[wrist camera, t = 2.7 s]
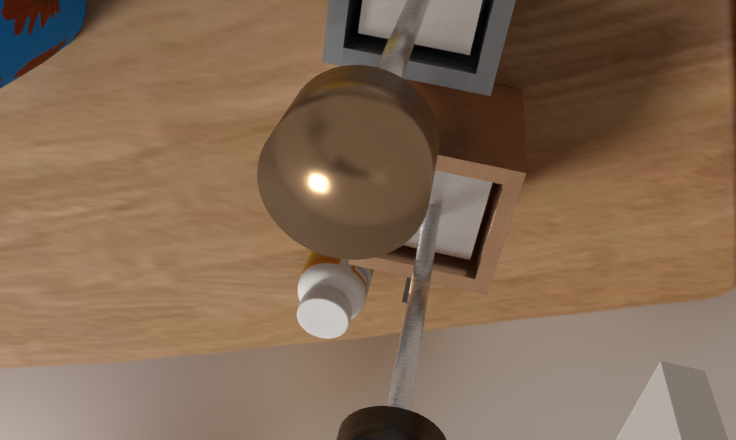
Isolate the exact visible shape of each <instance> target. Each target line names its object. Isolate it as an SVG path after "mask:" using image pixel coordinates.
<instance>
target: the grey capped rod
mask: <svg viewBox="0 0 736 440" xmlns="http://www.w3.org/2000/svg"><path fill="white" fill-rule="evenodd" d="M492 183H493V182H488V181H484V180H479V179H474V178H469V177H465V176H460V175H455V174H450V173H445V172H441V171H436V170H435V174H434V180H433V185H432V191H431V196H430V202H429V207H428V210H427V214H426V217H425V219H424V221H423V223H422V225H421V226H420V228H419V229H418V231H417V232H416V233H415V234H414V236H413V237H412V238H411V239H410V240H409V241H407V242H406V243H405V244H404V246H409V247H413V248H417V252H416V257H415V263H414V268H413V273H412V278H411V284H410V289H409V294H408V299H407V305H406V310H405V315H404V320H403V325H402V331H401V336H400V341H399V346H398V352H397V357H396V362H395V368H394V373H393V378H392V384H391V388H390V394H389V399H388V404H387V406H373V407H368V408H364V409H360V410H358V411H356V412H354V413H352V414H350V415H349V416H348V417H347V418H346V419H345V420H344V421H343V422H342V424H341V426H340V428H339V432H338V436H337V440H446V438H445V436H444V434H443V433H442V431H441V430H440V429H439V428H438V427H437V426H436V425H435V424H434V423H433V422H431V421H430V420H429V419H427V418H425V417H424V416H422V415H420V414H418V413H415V412H413V411H411V405H412V399H413V392H414V386H415V379H416V372H417V366H418V359H419V352H420V346H421V339H422V333H423V326H424V320H425V313H426V307H427V300H428V293H429V287H430V280H431V274H432V267H433V261H434V254H435V252H436V253H441V254H445V255H450V256H455V257H459V258H464V259H468V260H470V258H471V255H472V251H473V248H474V244H475V241H476V238H477V234H478V231H479V227H480V224H481V220H482V217H483V213H484V210H485V207H486V203H487V200H488V196H489V193H490V189H491V186H492Z"/></svg>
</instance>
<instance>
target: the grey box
mask: <svg viewBox="0 0 736 440" xmlns="http://www.w3.org/2000/svg"><path fill="white" fill-rule="evenodd" d="M515 2H516V0H483V1H482V5H481V9H480V13H479V18H478V22H477V26H476V30H475V35H474V39H473V43H472V47H471V51H470V55H467V54H462V53H457V52H452V51H447V50H442V49H437V48H432V47H426V46H421V45H416V44H414V46H413V49H412V52H411V55H410V58H409V61H408V64H407V66H406V69H405V72H404V75H403V78H404V79H409V80H414V81H419V82H424V83H428V84H433V85H438V86H443V87H448V88H453V89H458V90H463V91H468V92H473V93H478V94H483V95H488V96H491V92H492V88H493V85H494V81H495V77H496V73H497V70H498V66H499V62H500V58H501V55H502V51H503V47H504V43H505V39H506V36H507V32H508V28H509V24H510V21H511V17H512V13H513V9H514V6H515ZM361 7H362V0H329V5H328V14H327V24H326V34H325V44H324V53H323V62H324V63H329V64H334V65H339V66H347V65H367V66H374V67H376V66H377V64H378V62H379V59H380V57H381V55H382V53H383V51H384V49H385V46H386V44H387V42H388V40H389V39H386V38H381V37H376V36H371V35H366V34H361V33H358V30H359V22H360V14H361Z"/></svg>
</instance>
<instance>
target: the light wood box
mask: <svg viewBox="0 0 736 440" xmlns="http://www.w3.org/2000/svg"><path fill="white" fill-rule="evenodd" d="M403 79H404V78H403ZM405 80H406V81H407V82H409V83H410V84H411V85H413V86H414V87H415V88H416V89H417V90H418V91H419V92H420V93H421V95H422V96H423V97H424V98H425V100H426V101H427V103H428V104H429V106H430V107H431V109H432V111H433V114H434V116H435V118H436V122H437V125H438V130H439V152H438V158H437V163H436V169H435V170H436V171H441V172H445V173H450V174H455V175H460V176H465V177H469V178H474V179H479V180H484V181H488V182H493V183H492V186H491V189H490V193H489V196H488V200H487V203H486V207H485V210H484V213H483V217H482V220H481V224H480V227H479V231H478V234H477V238H476V241H475V244H474V248H473V251H472V255H471V258H470V260H468V259H464V258H459V257H455V256H450V255H445V254H441V253H436V252H435V254H434V261H433V267H432V274H431V280H430V282H432V283H436V284H441V285H445V286H450V287H454V288H459V289H463V290H468V291H472V292H477V293H481V294H486V295H487V294H488V291H489V288H490V285H491V281H492V278H493V275H494V272H495V269H496V266H497V263H498V260H499V257H500V254H501V251H502V247H503V244H504V241H505V238H506V235H507V232H508V229H509V226H510V223H511V220H512V217H513V213H514V210H515V207H516V204H517V201H518V198H519V195H520V192H521V189H522V186H523V183H524V179H525V176H526V155H525V136H524V117H523V98H522V90H520V89H515V88H510V87H505V86H500V85H495V84H494V85H493V88H492V92H491V96H488V95H483V94H478V93H473V92H468V91H463V90H458V89H453V88H448V87H443V86H438V85H433V84H428V83H424V82H419V81H414V80H409V79H405ZM416 252H417V248H413V247H409V246H404V245H402V246H401V247H399V248H397V249H396V250H394V251H392V252H390V253H387V254H385V255H382V256H378V257H375V258H369V259H361V260H349V262H348V264H350V265H355V266H359V267H364V268H368V269H373V270H377V271H382V272H387V273H391V274H396V275H400V276H405V277H407V280H406V285H405V290H404V295H403V300H402V302H405V303H407V299H408V294H409V289H410V284H411V278H412V273H413V268H414V263H415V257H416Z"/></svg>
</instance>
